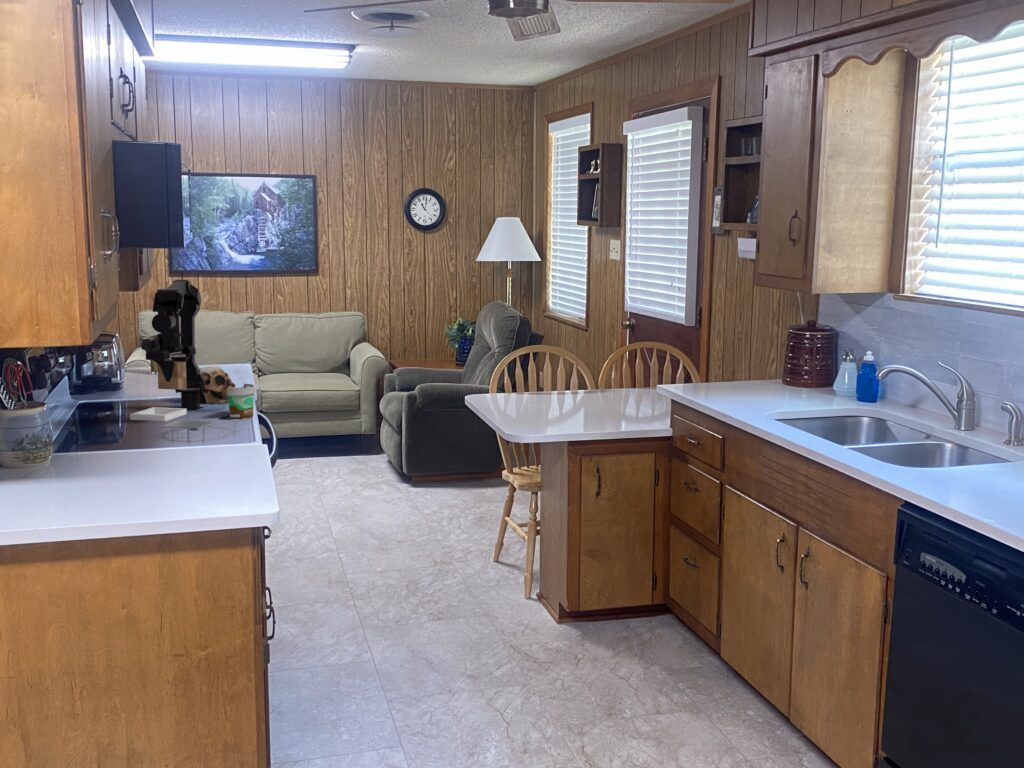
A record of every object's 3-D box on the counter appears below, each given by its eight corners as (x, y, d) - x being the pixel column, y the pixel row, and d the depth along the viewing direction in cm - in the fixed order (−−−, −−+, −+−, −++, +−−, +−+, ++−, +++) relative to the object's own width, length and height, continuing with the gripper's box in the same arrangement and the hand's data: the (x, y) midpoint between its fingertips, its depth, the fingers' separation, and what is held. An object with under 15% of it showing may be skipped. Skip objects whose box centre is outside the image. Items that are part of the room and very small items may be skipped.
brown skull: (243, 402, 343) (237, 364, 341) (192, 411, 336) (185, 372, 334) (235, 397, 358) (229, 361, 355) (186, 405, 351) (180, 368, 348)
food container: (246, 421, 310) (244, 389, 308) (228, 420, 311) (226, 389, 310) (263, 414, 322) (262, 384, 320) (246, 413, 323) (244, 383, 322)
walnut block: (166, 386, 307) (165, 361, 306) (186, 387, 306) (185, 362, 305) (158, 388, 303) (157, 363, 302) (178, 389, 302) (177, 363, 300)
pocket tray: (153, 414, 322) (153, 407, 321) (186, 415, 319) (186, 408, 319) (130, 421, 309) (129, 414, 309) (164, 423, 307) (164, 415, 306)
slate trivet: (179, 422, 307) (179, 420, 307) (214, 424, 305) (214, 421, 305) (161, 428, 297) (161, 426, 297) (197, 430, 295) (197, 427, 295)
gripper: (164, 327, 313) (166, 376, 315) (128, 332, 295) (131, 383, 297) (195, 328, 310) (197, 377, 312) (161, 332, 292) (164, 384, 294)
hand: (172, 380), depth 304 cm, fingers closed on walnut block, 4 cm apart
